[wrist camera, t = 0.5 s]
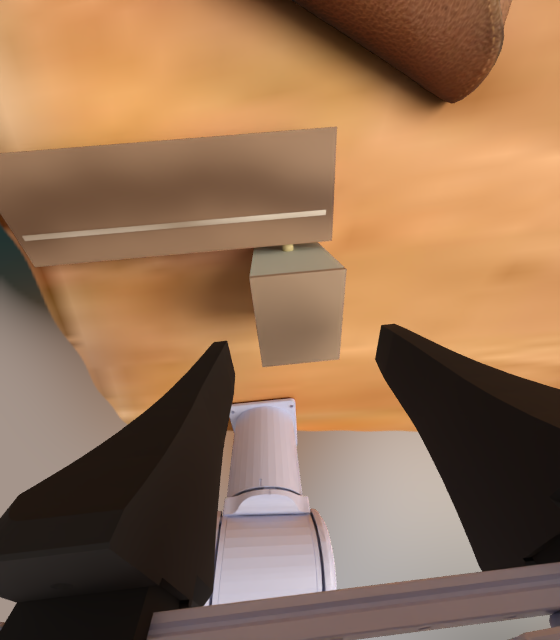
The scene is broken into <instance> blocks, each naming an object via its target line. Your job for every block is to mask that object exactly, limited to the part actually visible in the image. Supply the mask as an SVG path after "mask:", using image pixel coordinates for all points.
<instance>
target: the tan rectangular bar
mask: <svg viewBox="0 0 560 640" xmlns="http://www.w3.org/2000/svg"><path fill="white" fill-rule="evenodd" d="M336 138H337V127H328V128H315V129H302V130H290V131H277V132H264V133H251V134H239V135H226V136H213V137H201V138H188V139H175V140H163V141H150V142H137V143H125V144H112V145H99V146H86V147H74V148H61V149H48V150H36V151H23V152H10V153H0V214H1V215H2V217H3V218H4V220H5V221H6V223H7V224H8V226H9V228H10V229H11V231H12V232H13V234H14V235H15V237H16V238H17V240H18V242H19V243H20V245H21V246H22V248H23V249H24V251H25V252H26V254H27V256H28V257H29V259H30V260H31V262H32V263H33V265H34V266H35V267H42V266H54V265H65V264H76V263H87V262H98V261H109V260H121V259H132V258H143V257H154V256H165V255H177V254H188V253H199V252H210V251H221V250H233V249H244V248H255V247H266V246H277V245H289V244H300V243H311V242H322V241H332V228H333V205H334V183H335V160H336Z"/></svg>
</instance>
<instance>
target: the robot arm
mask: <svg viewBox="0 0 560 640" xmlns="http://www.w3.org/2000/svg"><path fill="white" fill-rule="evenodd" d="M375 360H376V362H377V364H378V367H379V369H380V371H381V373H382V375H383V377H384V379H385V380H386V382H387V384H388V385H389V387H390V388H391V390H392V391H393V393H394V395H395V396H396V398H397V399H398V401H399V402H400V404H401V405H402V407H403V408H404V410H405V411H406V413H407V414H408V416H409V417H410V419H411V420H412V422H413V424H414V425H415V427H416V429H417V431H418V432H419V434H420V436H421V438H422V440H423V442H424V444H425V446H426V448H427V450H428V451H429V453H430V455H431V457H432V460H433V461H434V463H435V466H436V467H437V470H438V472H439V474H440V476H441V478H442V480H443V482H444V484H445V486H446V489H447V491H448V493H449V495H450V498H451V500H452V502H453V504H454V506H455V509H456V511H457V513H458V516H459V518H460V520H461V523H462V525H463V527H464V529H465V532H466V535H467V537H468V539H469V542H470V544H471V547H472V549H473V552H474V554H475V557H476V559H477V562H478V564H479V566H480V568H481V570H482V572H476V573H468V574H460V575H451V576H443V577H436V578H428V579H420V580H411V581H404V582H395V583H387V584H379V585H371V586H363V587H355V588H348V589H339V590H336V571H335V562H334V555H333V549H332V544H331V540H330V537H329V532H328V529H327V526H326V524H325V522H324V520H323V519H322V517H321V516H320V515H319V513H318V512H317V510H315V509H310V507H309V500H308V496H303V495H302V487H301V479H300V471H299V464H298V456H297V449H296V446H297V427H296V410H295V400H294V399H293V398H288V399H278V400H268V401H259V402H249V403H239V404H232V401H233V395H234V384H235V371H234V367H233V363H232V359H231V355H230V351H229V347H228V343H227V341H221V342H214V343H213V344H212V345H211V346H210V347H209V348H208V349H207V351H206V352H205V353H204V354H203V355H202V356H201V358H200V359H199V360H198V361H197V362H196V363H195V364H194V365H193V367H192V368H191V369H190V370H189V371H188V372H187V373H186V374H185V375H184V376H183V377H182V378H181V379H180V380H179V381H178V382H177V383H176V384H175V385H174V386H173V387H172V388H171V389H170V390H169V391H168V392H167V393H166V394H165V395H164V396H163V397H162V398H160V399H159V400H158V401H157V402H156V403H155V404H153V405H152V406H151V407H150V408H149V409H148V410H146V411H145V412H144V413H143V414H141V415H140V416H139V417H137V418H136V419H135V420H133V421H132V422H131V423H129V424H128V425H127V426H126V427H124V428H123V429H122V430H120V431H119V432H118V433H116V434H115V435H113V436H112V437H111V438H109V439H108V440H106V441H105V442H103V443H102V444H101V445H99V446H98V447H96V448H95V449H93V450H92V451H90V452H89V453H87V454H85V455H84V456H83V457H81V458H79V459H78V460H76V461H75V462H73V463H72V464H70V465H69V466H67V467H65V468H63V469H62V470H60V471H58V472H57V473H55V474H53V475H52V476H50V477H48V478H47V479H45V480H43V481H42V482H40V483H38V484H37V485H35V486H33V487H32V488H30V489H28V490H27V491H25V492H23V493H21V494H20V495H19V496H18V497H17V498H16V499H15V501H14V502H13V503H12V504H11V506H10V507H9V508H8V509H7V511H6V512H5V513H4V514H3V515H2V517H1V518H0V597H2V598H5V599H8V600H11V601H14V602H17V604H16V605H15V607H14V609H13V611H12V612H11V614H10V616H9V617H8V619H7V620H6V622H5V623H4V622H0V640H357V639H364V638H372V637H380V636H388V635H395V634H402V633H411V632H418V631H426V630H434V629H442V628H450V627H457V626H465V625H473V624H480V623H489V622H496V621H504V620H511V619H520V618H527V617H535V616H543V615H550V620H549V621H550V625H551V628H549V629H543V630H537V631H532V632H526V633H523V634H521V635H519V636H518V637H515V638H512V639H509V640H560V389H557V388H553V387H550V386H547V385H543V384H540V383H537V382H534V381H531V380H527V379H524V378H521V377H518V376H515V375H512V374H509V373H506V372H504V371H501V370H498V369H496V368H493V367H490V366H487V365H485V364H482V363H480V362H477V361H475V360H472V359H470V358H468V357H465V356H463V355H461V354H458V353H456V352H454V351H451V350H449V349H447V348H445V347H443V346H441V345H439V344H436V343H434V342H432V341H430V340H428V339H426V338H424V337H422V336H420V335H418V334H416V333H414V332H412V331H410V330H407V329H405V328H403V327H401V326H399V325H396V324H388V325H381V330H380V335H379V341H378V346H377V352H376V358H375ZM229 417H230V420H231V424H232V427H233V431H234V441H233V450H232V458H231V467H230V475H229V483H228V492H227V497H226V498H225V501H224V510H223V516H222V511H218V499H219V486H220V475H221V466H222V456H223V448H224V441H225V436H226V431H227V426H228V421H229ZM551 614H552V615H551Z"/></svg>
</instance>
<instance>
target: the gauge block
mask: <svg viewBox="0 0 560 640" xmlns="http://www.w3.org/2000/svg"><path fill="white" fill-rule="evenodd" d="M346 270H347V269H346V268H345V267H344V266H343V265H342V264H340V263H339V262H338V261H337V260H336V259H335V258H334V257H333V256H332V255H331V254H330V253H329V252H327V251H326V250H325V249H324V248H323V247H322V246H321V245H320V244H319V243H318V242H311V243H300V244H289V245H277V246H266V247H255V248H254V251H253V258H252V264H251V270H250V277H249V280H250V287H251V293H252V300H253V307H254V313H255V320H256V327H257V333H258V340H259V347H260V353H261V360H262V367H269V366H279V365H289V364H298V363H308V362H318V361H328V360H338V359H339V357H340V344H341V332H342V320H343V307H344V295H345V282H346Z"/></svg>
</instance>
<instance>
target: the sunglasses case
mask: <svg viewBox="0 0 560 640" xmlns="http://www.w3.org/2000/svg"><path fill="white" fill-rule="evenodd" d="M292 1H293V2H295V3H297V4H298V5H300V6H302V7H303V8H305V9H306V10H308V11H309V12H311V13H312V14H314V15H315V16H317V17H318V18H319V19H321V20H323V21H324V22H326V23H328V24H329V25H331V26H333V27H334V28H336V29H337V30H339V31H340V32H342V33H343V34H345V35H346V36H348V37H349V38H351V39H352V40H354V41H355V42H357V43H359V44H360V45H361V46H363V47H364V48H366V49H367V50H369V51H371V52H372V53H374V54H375V55H377V56H379V57H380V58H381V59H383V60H384V61H386V62H387V63H389V64H390V65H392V66H393V67H395V68H396V69H398V70H399V71H401V72H402V73H404V74H405V75H407V76H408V77H409V78H411V79H412V80H413V81H415V82H416V83H417V84H419V85H420V86H421V87H423V88H424V89H426V90H428V91H429V92H431V93H433V94H434V95H436V96H437V97H439V98H440V99H442V100H444V101H446V102H449V103H455V102H457V101H460V100H462V99H464V98H465V97H466V96H467V95H469V94H470V93H471V92H473V91H474V90H475V89H476V88H477V87H478V86H479V85H480V84H481V82H482V81H483V80H484V79H485V78H486V76H487V75H488V74H489V72H490V71H491V69H492V67H493V66H494V65H495V63H496V61H497V58H498V56H499V54H500V51H501V49H502V45H503V40H504V24H505V21H506V18H507V15H508V12H509V8H510V5H511V2H512V0H292Z"/></svg>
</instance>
